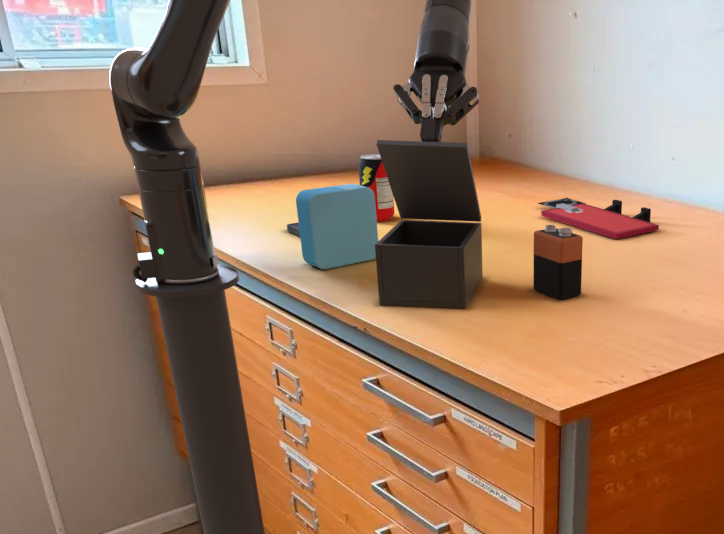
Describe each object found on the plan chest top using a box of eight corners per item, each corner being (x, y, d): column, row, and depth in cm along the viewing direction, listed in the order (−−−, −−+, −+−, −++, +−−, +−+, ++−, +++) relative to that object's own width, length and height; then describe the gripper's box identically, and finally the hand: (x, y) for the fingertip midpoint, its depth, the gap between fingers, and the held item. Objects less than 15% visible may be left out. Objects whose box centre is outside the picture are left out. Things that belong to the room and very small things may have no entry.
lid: (466, 147, 120) (467, 142, 120) (376, 144, 120) (377, 139, 121) (481, 221, 135) (481, 217, 135) (400, 218, 135) (401, 214, 136)
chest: (465, 308, 125) (463, 248, 121) (379, 305, 126) (374, 244, 122) (482, 278, 139) (481, 222, 135) (404, 274, 140) (401, 219, 136)
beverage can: (387, 214, 178) (382, 152, 173) (399, 220, 173) (395, 157, 168) (357, 217, 175) (352, 154, 169) (369, 223, 170) (364, 159, 165)
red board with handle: (573, 201, 192) (519, 210, 183) (573, 188, 190) (518, 197, 182) (671, 229, 172) (616, 241, 163) (672, 215, 170) (616, 226, 162)
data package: (365, 253, 151) (359, 182, 145) (380, 258, 148) (374, 186, 143) (303, 265, 143) (294, 191, 138) (317, 271, 140) (308, 195, 135)
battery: (560, 301, 129) (561, 233, 125) (531, 290, 134) (532, 224, 129) (582, 295, 132) (584, 229, 127) (553, 285, 137) (554, 221, 132)
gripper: (393, 26, 127) (378, 126, 122) (483, 29, 126) (471, 129, 121) (404, 64, 134) (390, 159, 129) (489, 66, 134) (478, 162, 128)
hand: (429, 145), depth 125 cm, fingers closed
